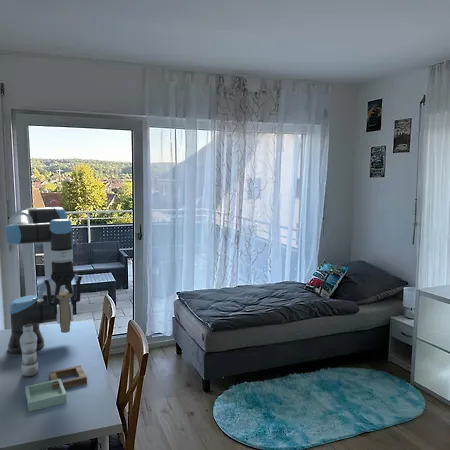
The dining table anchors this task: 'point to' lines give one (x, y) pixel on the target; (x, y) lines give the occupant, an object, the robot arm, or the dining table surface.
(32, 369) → the plastic bottle
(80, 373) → the brown wooden frame
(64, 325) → the handle
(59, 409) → the dining table surface
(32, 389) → the tray
